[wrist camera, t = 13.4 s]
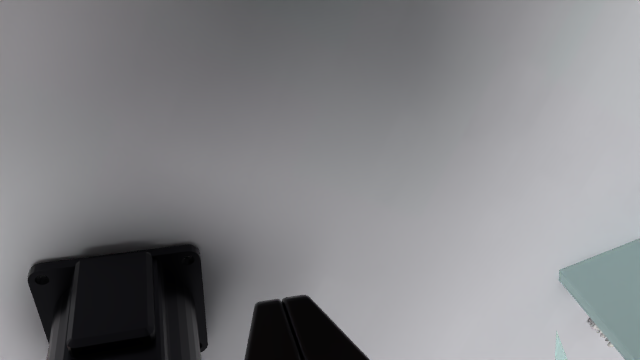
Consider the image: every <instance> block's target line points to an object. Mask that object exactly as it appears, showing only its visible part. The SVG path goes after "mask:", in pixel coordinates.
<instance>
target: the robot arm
mask: <svg viewBox="0 0 640 360" xmlns="http://www.w3.org/2000/svg"><path fill="white" fill-rule="evenodd" d="M185 256H192V257H190V258H184V257H185ZM40 275H45V276H47V277H39V276H40ZM28 284H29V287H30V290H31V293H32V295H33V298H34V301H35V304H36V307H37V310H38V313H39V316H40V319H41V322H42V325H43V328H44V331H45V334H46V336H47V339H48V342H49V348H48V355H47V360H201V354H200V352H202V351H204V350H205V349H206V348H207V345H208V342H207V330H206V319H205V307H204V295H203V283H202V271H201V259H200V252H199V249H198V248H197V247H196V246H193V245H181V246H173V247H165V248H158V249H150V250H142V251H134V252H126V253H118V254H111V255H103V256H95V257H87V258H79V259H71V260H64V261H56V262H48V263H40V264H37V265H34V266H33V267H31V269H30V271H29V275H28ZM245 360H369V359H368V357H367V356H366V355H365V354H364V353H363V352H362V351H361V350H360V349H359V348H358V347H357V346H356V345H355V344H354V343H353V342H352V341H351V340H350V339H349V338H348V337H347V336H346V335H345V334H344V333H343V331H342V330H341V329H340V328H339V327H338V326H337V325H336V324H335V323H334V322H333V321H332V320H331V319H330V318H329V317H328V316H327V315H326V314H325V313H324V312H323V311H322V310H321V309H320V308H319V307H318V305H317V304H316V303H315V302H314V301H313V300H312V299H311V298H310V297H308V296H306V295H299V296H293V297H286V298H284V299H283V300H282V302H281V301H280V300H279V299H274V300H267V301H261V302H258V303H256V305H255V308H254V312H253V318H252V323H251V328H250V334H249V339H248V344H247V349H246V355H245Z"/></svg>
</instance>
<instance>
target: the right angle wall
mask: <svg viewBox="0 0 640 360" xmlns="http://www.w3.org/2000/svg"><path fill="white" fill-rule="evenodd" d="M559 281H560V282H561V283H562V284H563V286H564V287H565V288H566V289H567V290H568V292H569V293H570V294H571V295H572V296H573V298H574V299H575V300H576V301H577V302H578V304H579V305H580V306H581V307H582V308H583V310H584V311H585V312H586V313H587V314H588V316H589V317H590V319H589V322H591V324H590V325H591V327H592V329H595V330H597V333H599V332H600V333H601V334H600V336H601V337H602V338H606V337H607V338H606V340H605V341H610V342H609V343H608V344H607V345H608V347H615V348H616V349H617V350H618V352H619V353H620V354H621V355H622V356H623V358H624V359H625V360H640V239H638V240H635V241H632V242H630V243H627V244H625V245H622V246H620V247H617V248H615V249H612V250H609V251H607V252H604V253H602V254H599V255H597V256H594V257H592V258H589V259H587V260H584V261H581V262H579V263H576V264H574V265H571V266H569V267H566V268H564V269H561V270H559ZM555 360H567V357H566V354H565V352H564V349H563V347H562V344H561V342H560V339H559V336H558V334H557V331H556V351H555Z"/></svg>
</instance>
